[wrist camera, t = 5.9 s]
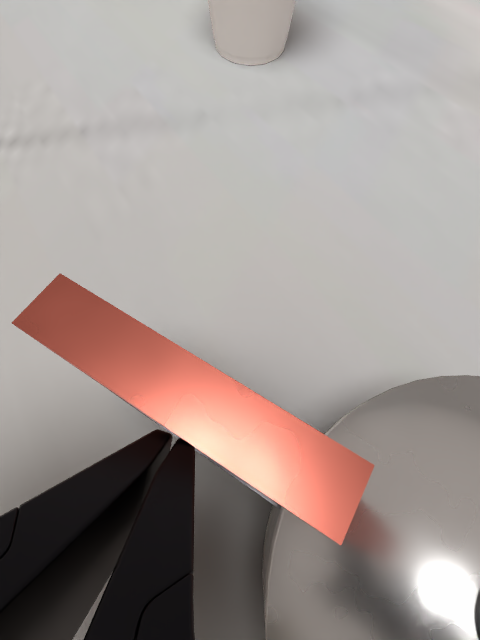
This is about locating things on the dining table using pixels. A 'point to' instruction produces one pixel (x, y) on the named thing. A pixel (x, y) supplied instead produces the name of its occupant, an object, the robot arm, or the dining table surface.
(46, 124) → the dining table surface
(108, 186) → the dining table surface
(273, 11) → the foam cup
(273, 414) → the lid
